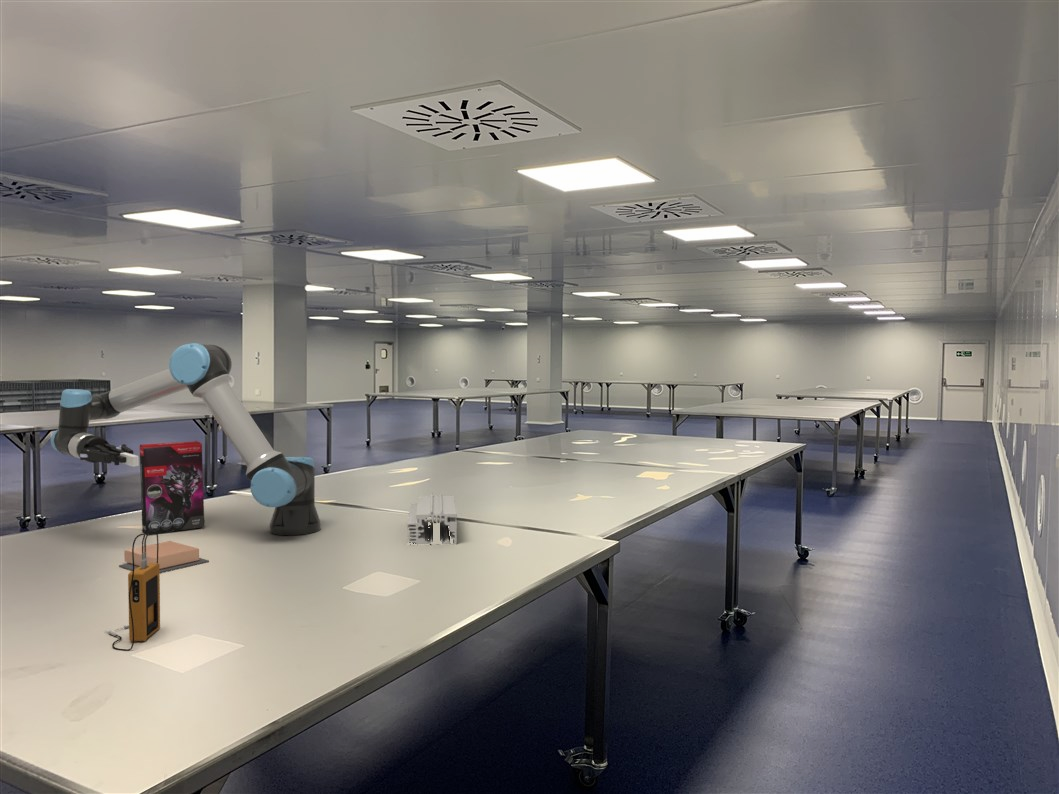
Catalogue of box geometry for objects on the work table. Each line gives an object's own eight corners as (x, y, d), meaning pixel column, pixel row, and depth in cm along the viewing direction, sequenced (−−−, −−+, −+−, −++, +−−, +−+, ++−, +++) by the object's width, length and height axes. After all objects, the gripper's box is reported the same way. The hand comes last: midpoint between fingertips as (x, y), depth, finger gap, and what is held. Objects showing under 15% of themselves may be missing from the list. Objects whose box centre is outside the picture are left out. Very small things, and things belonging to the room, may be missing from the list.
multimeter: (116, 623, 145) (114, 523, 144) (168, 622, 145) (167, 523, 145) (76, 652, 130) (74, 541, 129) (135, 650, 131) (133, 540, 130)
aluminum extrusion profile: (406, 546, 209) (407, 512, 209) (410, 523, 239) (410, 493, 239) (456, 545, 211) (457, 511, 211) (453, 523, 241) (454, 493, 241)
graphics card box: (144, 536, 218) (143, 445, 217) (139, 532, 223) (138, 443, 222) (205, 528, 229) (204, 442, 228) (198, 524, 234) (197, 440, 233)
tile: (124, 549, 187) (153, 558, 179) (169, 540, 197) (199, 548, 189) (124, 562, 187) (153, 571, 179) (169, 553, 197) (199, 561, 189)
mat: (118, 566, 185) (118, 565, 185) (179, 553, 198) (179, 552, 198) (147, 576, 177) (147, 574, 177) (209, 561, 190) (209, 560, 190)
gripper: (112, 456, 215) (159, 470, 203) (65, 464, 205) (111, 479, 192) (112, 432, 214) (158, 444, 202) (65, 438, 203) (111, 451, 191)
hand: (135, 461), depth 197 cm, fingers closed
